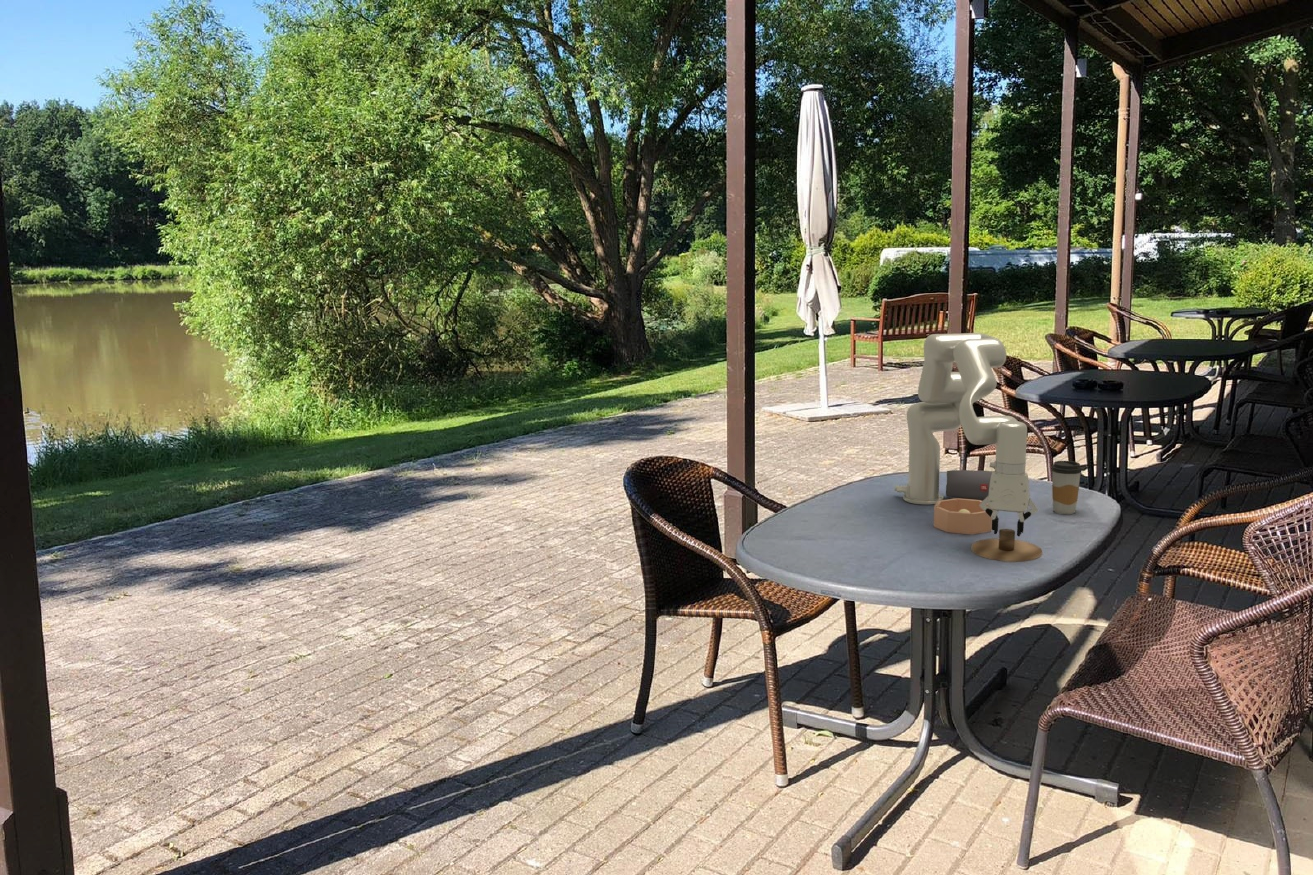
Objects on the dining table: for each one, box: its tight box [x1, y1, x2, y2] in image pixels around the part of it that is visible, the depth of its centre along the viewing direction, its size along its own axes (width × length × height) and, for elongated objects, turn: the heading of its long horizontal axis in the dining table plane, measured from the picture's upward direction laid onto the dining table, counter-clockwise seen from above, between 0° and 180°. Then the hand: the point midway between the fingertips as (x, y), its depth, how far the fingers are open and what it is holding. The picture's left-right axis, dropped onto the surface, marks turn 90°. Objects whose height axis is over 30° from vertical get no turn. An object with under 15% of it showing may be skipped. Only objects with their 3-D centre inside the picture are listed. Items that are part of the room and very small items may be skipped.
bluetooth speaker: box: [945, 469, 994, 501], centre depth 324 cm, size 23×9×10 cm, turn 72°
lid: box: [970, 528, 1043, 563], centre depth 276 cm, size 18×18×6 cm
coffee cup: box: [1051, 460, 1082, 515], centre depth 310 cm, size 8×8×15 cm
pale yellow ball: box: [958, 509, 970, 513], centre depth 299 cm, size 4×4×4 cm
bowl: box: [933, 498, 993, 535], centre depth 299 cm, size 16×16×6 cm
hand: (1007, 533), depth 276 cm, fingers open, 5 cm apart
